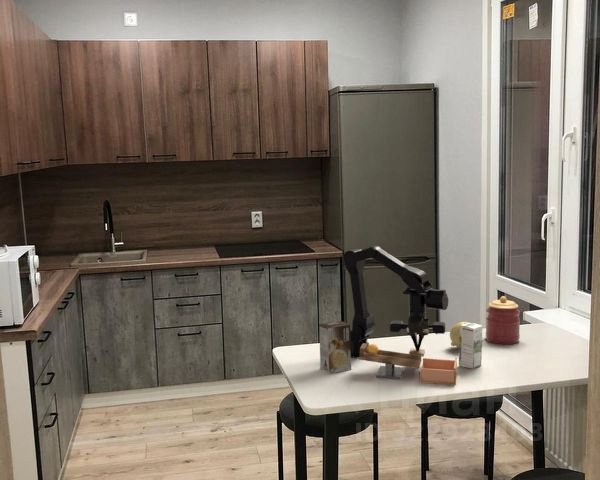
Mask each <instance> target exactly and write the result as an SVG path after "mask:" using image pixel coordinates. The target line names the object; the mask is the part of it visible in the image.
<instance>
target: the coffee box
mask: <svg viewBox="0 0 600 480" xmlns="http://www.w3.org/2000/svg"><path fill="white" fill-rule="evenodd" d="M318 328H319V360H320V361H319V365H320V370H322V371H323V372H325V373H327V374H330V375H331V374H335V373H339V372H345V371H349V370H352V357H351V334H350V331H351V324H350V323H347V322H344V321H342V320H339V321H334V322H333V321H331V322H327V323H321V324H320V323H319V327H318Z"/></svg>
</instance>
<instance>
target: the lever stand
mask: <svg viewBox="0 0 600 480" xmlns="http://www.w3.org/2000/svg"><path fill="white" fill-rule="evenodd" d="M404 368H405V366H396V365H392V363H384V365H379V368H378V370H377V372H376V375H375V379H380V380H381V379H382V380H383V379H385V380H395V381H401V379H402V376H403V374H404Z"/></svg>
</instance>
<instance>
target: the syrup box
mask: <svg viewBox="0 0 600 480" xmlns="http://www.w3.org/2000/svg"><path fill="white" fill-rule="evenodd" d="M483 327H484V326H483V325H481V324H478V323H475V322H474V323H473V322H469V323H467V324H464V325H461V326H460V337H459V347H458V366H460V367H463V368H468V369H472V370H473V369H476V368H478V367H480V366H481V365H482V355H483V353H482V349H483Z"/></svg>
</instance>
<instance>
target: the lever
mask: <svg viewBox="0 0 600 480" xmlns="http://www.w3.org/2000/svg"><path fill="white" fill-rule="evenodd" d="M408 351H409V352H408V353H404V352H399V351H391V350H382V349H378V353H377V354H370V353H367V344H366V343H363V344H362V346H361V347H360V355H359V358H358V360H360V361H366V362H371V363H373V362H374V363H379V364H385V363H392V365H395V366H398V367H408V368H412V369H413V368H414V369H420V367H421V362H422V357H423V358H425V353H426V350H425V349H422V348H420V349H419V351H416V348H414V347H410V349H409V350H408Z"/></svg>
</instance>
